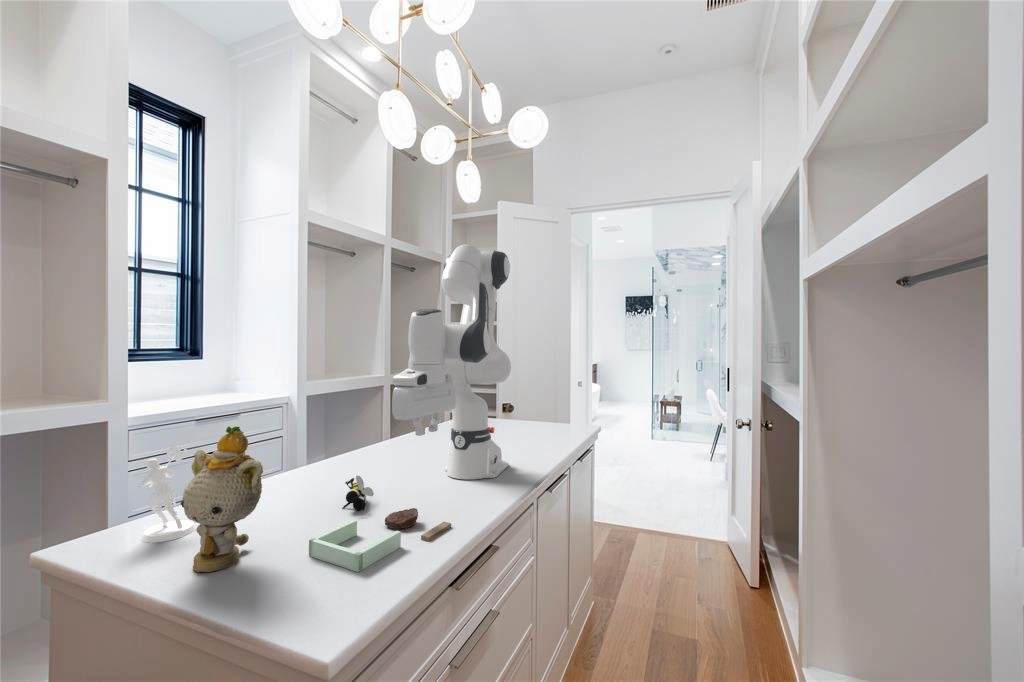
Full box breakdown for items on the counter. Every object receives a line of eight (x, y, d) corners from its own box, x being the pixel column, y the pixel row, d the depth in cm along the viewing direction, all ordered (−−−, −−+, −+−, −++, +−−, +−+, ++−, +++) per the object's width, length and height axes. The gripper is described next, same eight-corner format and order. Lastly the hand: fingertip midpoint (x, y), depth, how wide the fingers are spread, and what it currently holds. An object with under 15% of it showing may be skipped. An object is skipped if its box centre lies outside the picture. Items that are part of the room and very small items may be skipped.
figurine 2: (216, 590, 72) (217, 438, 72) (164, 564, 80) (165, 428, 81) (281, 560, 82) (282, 427, 82) (229, 540, 90) (230, 419, 91)
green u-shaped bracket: (353, 533, 93) (353, 519, 93) (400, 546, 88) (400, 531, 88) (308, 555, 84) (308, 540, 84) (358, 572, 78) (358, 555, 78)
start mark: (443, 525, 98) (443, 521, 98) (451, 526, 97) (451, 523, 97) (420, 539, 91) (421, 535, 91) (428, 541, 90) (428, 537, 90)
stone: (418, 530, 96) (418, 516, 96) (384, 534, 94) (384, 519, 94) (417, 519, 102) (417, 505, 102) (384, 522, 100) (384, 508, 100)
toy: (333, 485, 116) (331, 507, 102) (357, 466, 118) (358, 485, 104) (350, 503, 118) (350, 527, 104) (373, 484, 120) (376, 505, 106)
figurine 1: (184, 519, 101) (185, 441, 101) (207, 528, 96) (208, 446, 96) (131, 536, 92) (132, 450, 92) (153, 546, 87) (154, 456, 88)
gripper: (442, 372, 116) (441, 425, 116) (387, 378, 98) (387, 440, 98) (461, 373, 113) (461, 427, 113) (409, 379, 95) (409, 443, 95)
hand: (426, 433), depth 105 cm, fingers open, 3 cm apart
